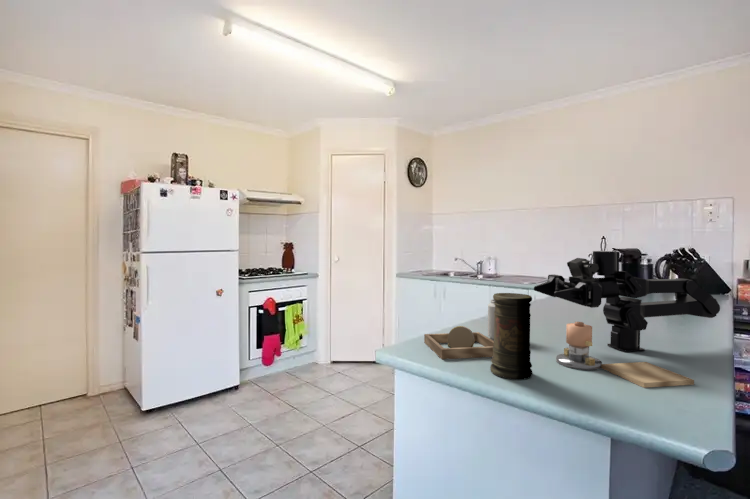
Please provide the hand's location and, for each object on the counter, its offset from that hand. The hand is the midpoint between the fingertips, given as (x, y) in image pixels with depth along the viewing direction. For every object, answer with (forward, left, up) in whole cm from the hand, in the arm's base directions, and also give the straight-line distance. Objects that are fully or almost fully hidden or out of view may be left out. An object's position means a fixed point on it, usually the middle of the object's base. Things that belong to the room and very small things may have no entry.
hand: (543, 291), depth 103 cm
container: (+17, +14, -17) cm, 27 cm away
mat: (-12, +20, -17) cm, 29 cm away
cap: (-3, +10, -12) cm, 16 cm away
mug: (+21, -6, -17) cm, 28 cm away
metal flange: (-3, +10, -17) cm, 20 cm away
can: (+5, -15, -17) cm, 23 cm away
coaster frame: (+21, -6, -17) cm, 27 cm away
